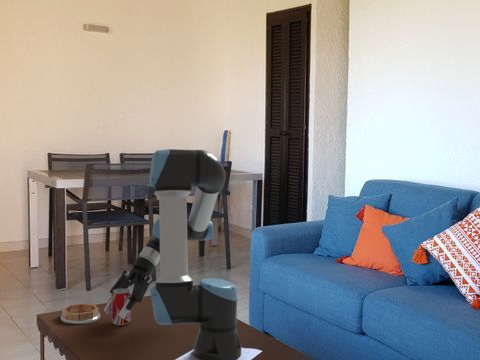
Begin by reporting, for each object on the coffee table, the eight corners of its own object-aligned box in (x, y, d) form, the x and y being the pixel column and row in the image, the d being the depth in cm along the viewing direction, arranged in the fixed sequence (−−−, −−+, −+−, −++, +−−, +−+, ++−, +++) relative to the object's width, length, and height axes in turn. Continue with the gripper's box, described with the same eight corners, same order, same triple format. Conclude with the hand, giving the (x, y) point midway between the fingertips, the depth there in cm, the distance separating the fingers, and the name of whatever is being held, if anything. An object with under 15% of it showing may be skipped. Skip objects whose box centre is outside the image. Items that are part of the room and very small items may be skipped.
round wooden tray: (105, 320, 219) (105, 311, 218) (67, 326, 211) (67, 317, 211) (92, 309, 231) (92, 300, 230) (56, 315, 223) (55, 306, 223)
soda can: (121, 327, 211) (121, 294, 210) (106, 324, 214) (106, 291, 213) (135, 322, 217) (135, 289, 216) (120, 318, 220) (120, 286, 219)
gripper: (171, 271, 220) (138, 326, 209) (133, 263, 232) (100, 314, 221) (161, 260, 215) (127, 315, 204) (123, 252, 227) (89, 303, 216)
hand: (113, 314), depth 212 cm, fingers closed on soda can, 7 cm apart
